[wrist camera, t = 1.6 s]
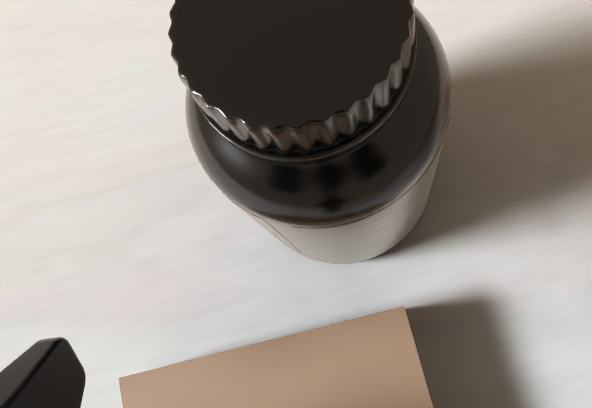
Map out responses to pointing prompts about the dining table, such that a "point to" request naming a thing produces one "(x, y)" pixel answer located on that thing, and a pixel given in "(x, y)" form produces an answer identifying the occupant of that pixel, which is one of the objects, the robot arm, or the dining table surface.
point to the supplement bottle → (316, 115)
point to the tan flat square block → (297, 372)
